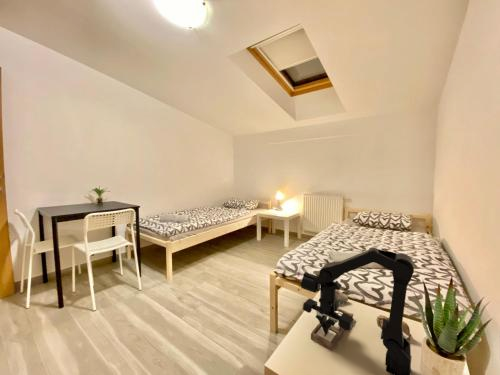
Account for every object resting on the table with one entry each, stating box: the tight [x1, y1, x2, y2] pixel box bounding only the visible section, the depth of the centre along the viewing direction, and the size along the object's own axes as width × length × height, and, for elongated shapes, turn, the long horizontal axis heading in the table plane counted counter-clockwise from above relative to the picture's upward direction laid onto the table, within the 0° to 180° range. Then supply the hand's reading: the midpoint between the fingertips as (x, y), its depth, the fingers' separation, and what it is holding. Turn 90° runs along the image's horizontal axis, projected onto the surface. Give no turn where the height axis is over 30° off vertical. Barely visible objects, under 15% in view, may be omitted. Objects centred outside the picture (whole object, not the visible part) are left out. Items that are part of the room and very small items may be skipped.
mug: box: [336, 290, 349, 304], centre depth 113 cm, size 8×10×10 cm
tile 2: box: [327, 317, 341, 331], centre depth 93 cm, size 6×6×2 cm
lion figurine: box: [376, 314, 412, 342], centre depth 89 cm, size 15×5×9 cm, turn 93°
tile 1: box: [316, 327, 336, 342], centre depth 87 cm, size 6×6×2 cm
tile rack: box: [310, 307, 354, 352], centre depth 93 cm, size 9×24×2 cm, turn 139°
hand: (326, 333), depth 87 cm, fingers closed, pressing on tile 1
